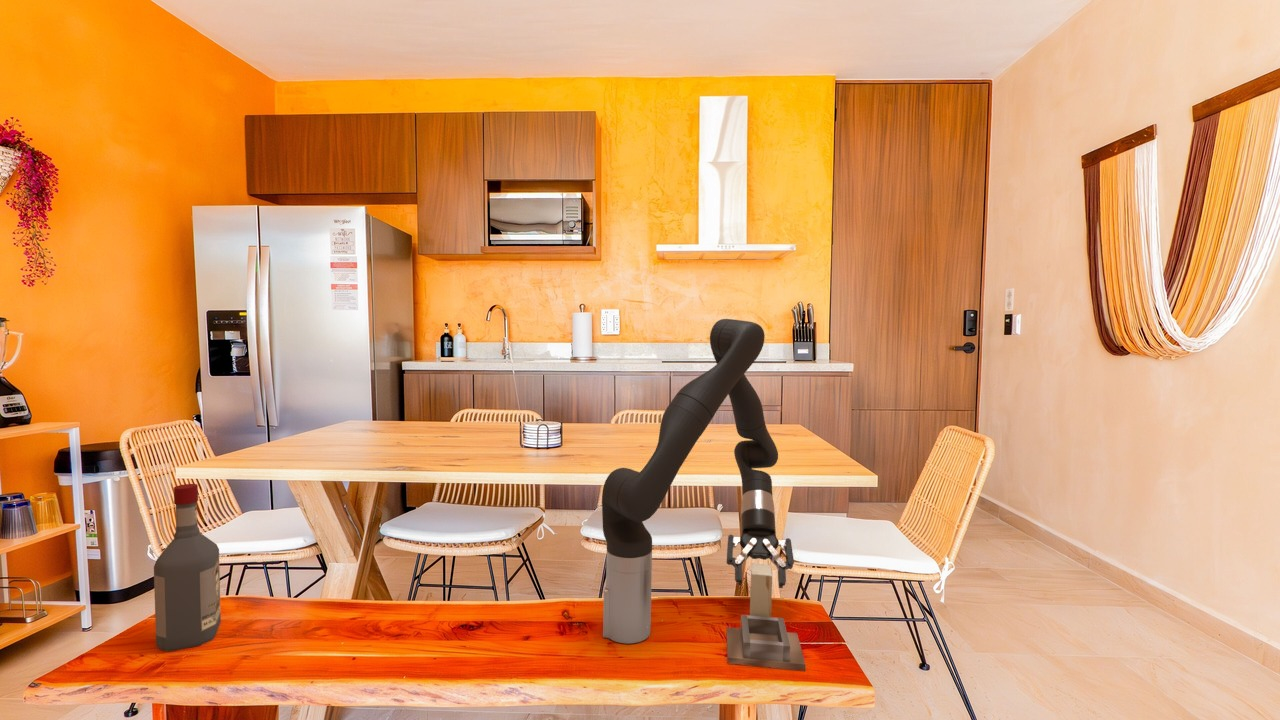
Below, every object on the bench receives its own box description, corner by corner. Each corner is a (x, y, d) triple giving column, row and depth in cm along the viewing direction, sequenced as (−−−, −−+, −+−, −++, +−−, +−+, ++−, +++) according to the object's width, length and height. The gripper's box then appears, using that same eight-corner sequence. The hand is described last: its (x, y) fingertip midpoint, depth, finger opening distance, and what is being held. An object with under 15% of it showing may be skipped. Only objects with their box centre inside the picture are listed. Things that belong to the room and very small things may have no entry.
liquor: (153, 655, 107) (148, 495, 105) (166, 631, 115) (162, 482, 113) (214, 643, 111) (210, 489, 109) (222, 621, 119) (219, 478, 117)
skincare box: (770, 635, 118) (772, 576, 117) (749, 632, 119) (750, 574, 118) (770, 619, 124) (772, 564, 124) (749, 617, 125) (751, 562, 124)
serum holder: (727, 663, 108) (728, 641, 107) (726, 632, 118) (727, 612, 118) (805, 670, 106) (806, 648, 106) (796, 638, 117) (797, 618, 116)
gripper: (727, 505, 131) (727, 576, 121) (791, 508, 130) (797, 581, 119) (726, 520, 137) (725, 589, 126) (787, 524, 135) (792, 594, 124)
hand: (760, 585), depth 123 cm, fingers open, 8 cm apart
